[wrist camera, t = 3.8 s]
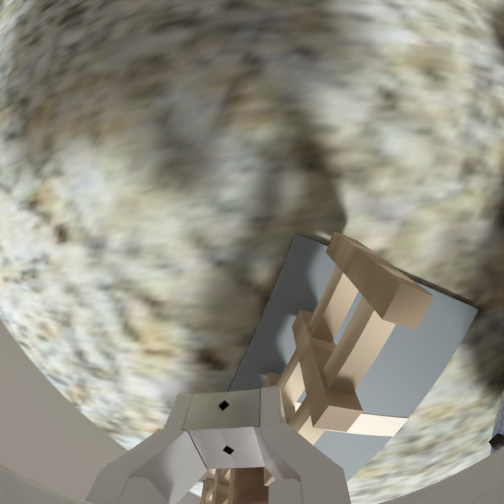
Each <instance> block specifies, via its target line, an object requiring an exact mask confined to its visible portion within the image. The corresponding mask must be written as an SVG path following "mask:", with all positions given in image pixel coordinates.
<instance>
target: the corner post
mask: <svg viewBox="0 0 504 504" xmlns="http://www.w3.org/2000/svg"><path fill="white" fill-rule="evenodd" d="M268 500H269V486H264V467H250V468H238V479H237V495H236V504H268Z"/></svg>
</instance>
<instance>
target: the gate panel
mask: <svg viewBox="0 0 504 504" xmlns="http://www.w3.org/2000/svg"><path fill="white" fill-rule="evenodd" d="M326 253H327V254H328V255H329V257H330V258H331V259H332V260H333V261H334V262H335V263H336V267H335V269H334V271H333V274H332V276H331V278H330V280H329V282H328V285H327V287H326V289H325V291H324V293H323V295H322V297H321V299H320V302H319V304H318V306H317V308H316V310H315V312H314V313H311V312H308V311H305V310H302V309H300V310H299V312H298V315H297V317H296V319H295V321H294V323H293V325H292V330H293V335H294V339H295V344H296V350H295V352H294V353H293V355H292V357H291V359H290V361H289V363H288V365H287V367H286V368H285V370H284V372H283V374H282V375H280V374H276V373H272V372H269V373H268V375H267V377H266V379H265V381H264V383H263V384H262V387H269V386H275V385H279V386H280V390H281V395H282V401H283V406H284V412H285V419H286V424H288V425H290V426H291V427H292V428H293V429H294V430H295V431H297V432H298V433H299V434H300V435H301V436H303V437H304V438H305V439H306V440H307V441H309V442H310V443H311V444H312V445H314V444H315V442H316V441H317V440H318V439H319V438H320V436H321V435H322V434H323V433H324V431H325V430H333V431H341V432H347V431H348V429H349V428H350V427H351V426H352V425H353V423H354V422H355V421H356V420H357V418H358V417H359V416H360V414H361V413H362V412H363V409H362V407H361V404H360V402H359V399H358V397H357V395H356V392H355V390H356V388H357V387H358V385H359V384H360V382H361V381H362V379H363V378H364V376H365V375H366V373H367V372H368V370H369V369H370V367H371V365H372V364H373V362H374V361H375V359H376V357H377V356H378V354H379V353H380V351H381V349H382V348H383V346H384V344H385V342H386V341H387V339H388V337H389V336H390V334H391V332H392V330H393V329H394V327H395V325H396V324H397V325H401V326H404V327H407V328H410V329H413V330H417V329H418V327H419V325H420V323H421V321H422V320H423V318H424V316H425V314H426V312H427V310H428V308H429V306H430V304H431V302H432V300H433V298H434V296H433V295H432V294H430V293H429V292H428V291H426V290H425V289H424V288H423V287H421V286H420V285H419V284H417V283H416V282H415V281H413V280H412V279H411V278H409V277H408V276H406V275H405V274H404V273H402V272H401V271H400V270H398V269H397V268H396V267H394V266H393V265H391V264H390V263H389V262H387V261H386V260H384V259H383V258H382V257H380V256H379V255H377V254H376V253H374V252H373V251H372V250H370V249H369V248H367V247H366V246H364V245H363V244H362V243H360V242H359V241H357V240H354V239H352V238H350V237H347V236H345V235H342V234H340V233H338V232H335V231H334V233H333V236H332V238H331V241H330V243H329V245H328V248H327V250H326ZM358 291H359V292H360V293H361V294H362V295H363V296H362V298H361V300H360V302H359V304H358V306H357V308H356V310H355V312H354V314H353V316H352V318H351V320H350V322H349V324H348V326H347V328H346V329H345V331H344V333H343V335H342V337H341V339H340V340H339V342H338V344H337V346H336V345H335V343H334V340H333V339H334V338H335V336H336V334H337V332H338V330H339V328H340V326H341V325H342V323H343V321H344V319H345V317H346V315H347V313H348V311H349V309H350V307H351V305H352V303H353V301H354V299H355V297H356V295H357V293H358ZM304 389H305V391H306V397H305V399H304V400H303V402H302V403H301V405H300V406H299V408H298V409H297V411H296V412H295V403H296V402H297V400H298V399H299V397H300V396H301V394H302V392H303V391H304ZM273 481H276V480H275V478H274V477H273V476H272V475H271V474H270V472H269V471H268V470H267V469H266V467H264V486H269V485H270V484H271V483H272V482H273Z"/></svg>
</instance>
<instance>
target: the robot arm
mask: <svg viewBox="0 0 504 504" xmlns="http://www.w3.org/2000/svg"><path fill="white" fill-rule="evenodd" d="M250 467H266V469H267V470H268V471H269V472H270V474H271V475H272V476H273V477H274V478H275V480H276V481H273V482H272V483H271V484H270V485H269V500H268V504H351V501H350V496H349V492H348V487H347V483H346V479H345V474H344V470H343V468H342V467H340V466H339V465H338V464H336V463H335V462H334V461H332V460H331V459H330V458H328V457H327V456H326V455H325V454H323V453H322V452H321V451H320V450H318V449H317V448H316V447H315V446H313V445H312V444H311V443H310V442H309V441H307V440H306V439H305V438H304V437H303V436H301V435H300V434H299V433H298V432H297V431H295V430H294V429H293V428H292V427H291V426H290V425H288V424H286V419H285V412H284V406H283V401H282V395H281V390H280V386H279V385H275V386H269V387H262V388H258V389H250V390H241V391H231V392H213V393H195V394H194V393H190V394H179V395H177V397H176V399H175V402H174V404H173V407H172V409H171V412H170V414H169V417H168V420H167V422H166V425H165V427H164V430H158V431H157V432H155V433H154V434H152V435H151V436H150V437H148V438H147V439H145V440H144V441H142V442H141V443H140V444H138V445H137V446H135V447H134V448H132V449H131V450H129V451H128V452H126V453H125V454H123V455H122V456H120V457H119V458H117V459H116V460H114V461H113V462H111V463H110V464H108V465H106V466H105V467H103V468H102V469H101V470H100V472H99V474H98V476H97V478H96V480H95V481H94V483H93V485H92V487H91V490H90V492H89V493H88V495H87V497H86V499H85V500H81V499H79V498H76V497H73V496H70V495H67V494H65V493H62V492H59V491H57V490H54V489H52V488H49V487H47V486H45V485H42V484H40V483H38V482H36V481H33V480H31V479H29V478H27V477H25V476H23V475H21V474H19V473H16V472H15V471H13V470H11V469H9V468H7V467H5V466H4V465H1V464H0V504H177V503H178V502H179V501H180V499H182V497H183V496H184V495H185V494H186V493H187V492H188V491H189V490H190V489H191V488H192V487H193V486H194V485H195V484H196V483H197V481H198V480H199V479H200V478H201V477H202V476H203V475H204V474H205V473H206V471H207V469H225V468H250ZM379 504H504V447H502V448H501V449H499V450H497V451H496V452H494V453H493V454H491V455H489V456H488V457H486V458H484V459H482V460H481V461H479V462H477V463H475V464H474V465H472V466H470V467H468V468H466V469H464V470H462V471H460V472H458V473H456V474H454V475H452V476H450V477H448V478H446V479H444V480H441V481H439V482H437V483H435V484H432V485H430V486H427V487H425V488H422V489H420V490H417V491H415V492H412V493H409V494H407V495H404V496H401V497H398V498H395V499H392V500H389V501H386V502H383V503H379Z"/></svg>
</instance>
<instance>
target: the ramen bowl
mask: <svg viewBox="0 0 504 504" xmlns="http://www.w3.org/2000/svg"><path fill="white" fill-rule="evenodd" d="M489 443H490V444H491V454H493V453H494V452H496V451H497V450H499V449H501V448H502V447H504V390H503V393H502V397H501V401H500V404H499V408H498V411H497V415H496V418H495V423H494V429H493V435H492V439H491V440H490V441H489Z"/></svg>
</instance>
